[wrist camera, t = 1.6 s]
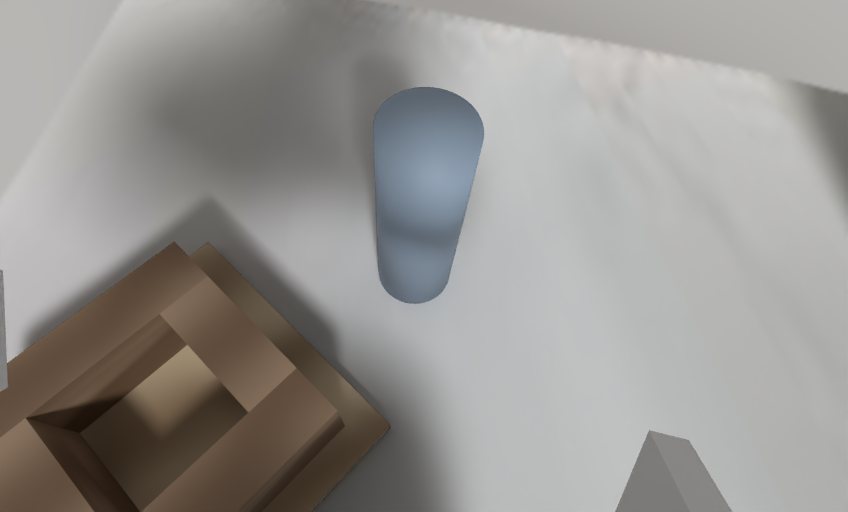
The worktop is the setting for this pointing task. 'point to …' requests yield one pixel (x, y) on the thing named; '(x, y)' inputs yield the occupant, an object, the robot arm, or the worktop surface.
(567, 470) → the worktop surface
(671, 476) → the robot arm
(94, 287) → the worktop surface
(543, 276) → the worktop surface
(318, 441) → the socket block
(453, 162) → the dowel
